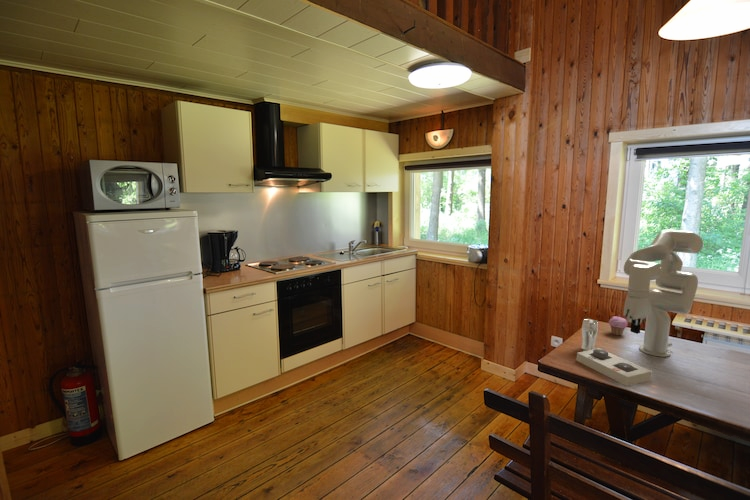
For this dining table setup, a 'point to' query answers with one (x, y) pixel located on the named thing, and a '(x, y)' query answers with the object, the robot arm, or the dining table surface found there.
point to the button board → (614, 368)
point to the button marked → (625, 367)
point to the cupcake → (617, 325)
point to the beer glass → (589, 334)
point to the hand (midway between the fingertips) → (635, 332)
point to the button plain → (600, 354)
